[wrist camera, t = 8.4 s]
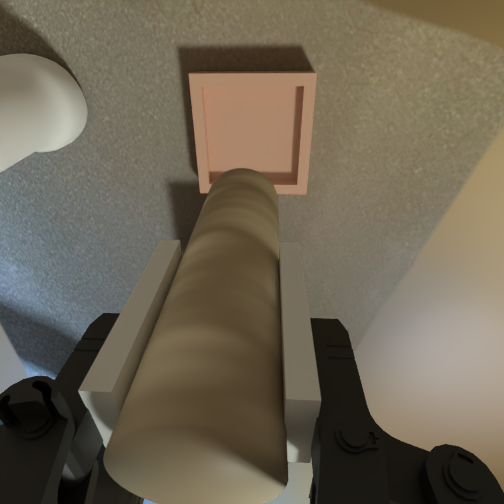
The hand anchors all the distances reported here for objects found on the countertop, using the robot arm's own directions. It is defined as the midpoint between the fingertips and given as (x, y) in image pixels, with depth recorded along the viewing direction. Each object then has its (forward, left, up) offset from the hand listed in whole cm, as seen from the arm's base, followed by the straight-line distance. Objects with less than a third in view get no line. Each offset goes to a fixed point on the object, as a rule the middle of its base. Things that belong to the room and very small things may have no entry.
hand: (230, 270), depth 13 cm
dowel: (0, 0, -7) cm, 7 cm away
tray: (0, 0, -24) cm, 24 cm away
